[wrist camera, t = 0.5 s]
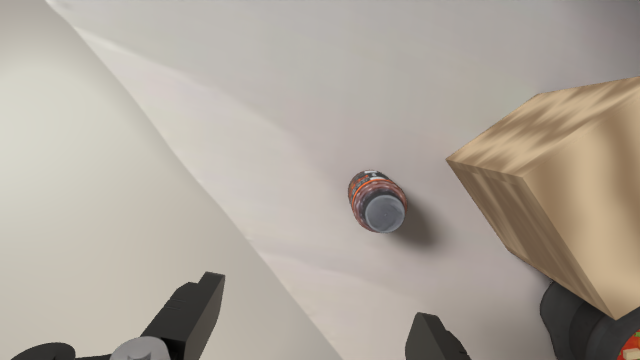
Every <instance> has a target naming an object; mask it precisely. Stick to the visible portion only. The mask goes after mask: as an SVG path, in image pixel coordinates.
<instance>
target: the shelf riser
mask: <svg viewBox="0 0 640 360" xmlns="http://www.w3.org/2000/svg"><path fill="white" fill-rule="evenodd" d="M445 160H446V161H447V163H448V164H449V165H450V167H451V168H452V170H453V171H454V173H455V174H456V176H457V177H458V179H459V180H460V181H461V183H462V184H463V186H464V187H465V189H466V190H467V192H468V193H469V195H470V196H471V197H472V199H473V200H474V202H475V203H476V205H477V206H478V208H479V209H480V210H481V212H482V213H483V215H484V216H485V218H486V219H487V221H488V222H489V224H490V225H491V226H492V228H493V229H494V231H495V232H496V234H497V235H498V237H499V238H500V240H501V241H502V242H503V244H504V245H505V247H506V248H507V250H508V251H510V252H511V253H513V254H514V255H516V256H517V257H519V258H521V259H522V260H524V261H525V262H527V263H528V264H530V265H531V266H533V267H534V268H536V269H537V270H539V271H541V272H542V273H544V274H545V275H547V276H548V277H550V278H551V279H553V280H554V281H556V282H557V283H559V284H561V285H562V286H564V287H565V288H567V289H568V290H570V291H571V292H573V293H574V294H576V295H577V296H579V297H581V298H582V299H584V300H585V301H587V302H588V303H590V304H591V305H593V306H594V307H596V308H598V309H599V310H601V311H602V312H604V313H605V314H607V315H608V316H610V317H611V318H613V319H614V320H617V319H619V318H621V317H622V316H624V315H626V314H627V313H629V312H631V311H632V310H634V309H636V308H638V307H639V306H640V76H639V77H633V78H627V79H621V80H616V81H610V82H604V83H598V84H593V85H587V86H581V87H575V88H570V89H564V90H558V91H552V92H547V93H541V94H537V95H535V96H534V97H533V98H531V99H530V100H528V101H527V102H526V103H524V104H523V105H521V106H520V107H519V108H517V109H516V110H514V111H513V112H511V113H510V114H509V115H507V116H506V117H504V118H503V119H502V120H500V121H499V122H497V123H496V124H494V125H493V126H492V127H490V128H489V129H487V130H486V131H485V132H483V133H482V134H480V135H479V136H478V137H476V138H475V139H473V140H472V141H470V142H469V143H468V144H466V145H465V146H463V147H462V148H461V149H459V150H458V151H456V152H455V153H454V154H452V155H451V156H449V157H448V158H446V159H445Z"/></svg>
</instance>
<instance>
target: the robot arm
mask: <svg viewBox="0 0 640 360" xmlns="http://www.w3.org/2000/svg"><path fill="white" fill-rule="evenodd" d="M224 283H225V275H222V274H217V273H212V272H205V274H204V275H203V277H202V278H201V280H200V281H199V283H192V282H188V283H186V284H184V285H183V286H181V287H179V288H178V289H177V290H176V291H175V292H174V294H173V295H172V296H171V297H170V300H168V301H167V303H166V304H165V305H164V307H163V308H162V309H161V310H160V312H159V313H158V314H157V315H156V316H155V318H154V319H153V320H152V322H151V323H150V324H149V325H148V327H147V328H146V329H145V331H144V332H143V333H142V334H141V336H140V337H138V338H134V339H131V340H129V341H127V342H125V343H123V344H122V345H120V346H119V347H118V348H117V349H116V350H115V351H114V352H113V353H112V354H108V355H103V356H93V357H82V358H75V350H74V348H73V347H72V346H70V345H68V344H65V343H57V342H56V343H46V344H42V345H38V346H35V347H32V348H30V349H27V350H25V351H24V352H22V353H20V354H18V355H17V356H15V357H14V358H12V359H11V360H199V358H200V356H201V354H202V352H203V350H204V348H205V346H206V344H207V341H208V339H209V337H210V335H211V332H212V331H213V329H214V327H215V324H216V322H217V319H218V315H219V312H220V307H221V301H222V295H223V289H224ZM405 356H406V360H471V358H470V357H469V355H467V352H466V350H465V349H464V347H463V346H462V344H461V342H460V341H459V340H458V339H457V338H456V337H455V336H454V335H453V334H452V333H451V332H450V331H447V330H446V329H445V327H444V326H443V324H442V322H441V321H440V319H439V318H438V316H436V315H431V314H426V313H420V312H418V313H417V314H416V315H415V318H414V321H413V324H412V327H411V330H410V333H409V336H408V339H407V342H406V346H405Z"/></svg>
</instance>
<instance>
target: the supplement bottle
mask: <svg viewBox="0 0 640 360" xmlns="http://www.w3.org/2000/svg"><path fill="white" fill-rule="evenodd" d="M348 197H349V201H350V202H349V203H350V204H351V207H352V210H353V213H354V215H355V218H356V220H357V221H358V222H359V224H360V225H361V226H362V227H364V228H365V229H367V230H369V231H372V232H376V233H389V232H393V231H395V230H396V229H398V228H399V227H400V226H401V224H402V223H403V221H404V218H405V215H406V212H407V200H406V197H405V195H404V193H403V191H402V190H401V189H400V188H399V187H398V186H397V185H396V184H395V183H394V182H392V181H391V180H390V179H389V178H388V177H386V176H385V175H384V174H382V173H380V172H378V171H374V170H366V171H363V172H360V173H359V174H357V175H356V176H355V177H354V178H353V179H352V180H351V182H350V184H349V188H348Z"/></svg>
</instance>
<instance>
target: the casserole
mask: <svg viewBox="0 0 640 360" xmlns="http://www.w3.org/2000/svg"><path fill="white" fill-rule="evenodd" d="M540 315H541V317H542V320H543V322H544V324H545V326H546V327H547V329H548V331H549V333H550V336H551V340H552V344H553V347H554V351H555V355H556V357H557V359H558V360H640V306H639V307H638V308H636V309H634V310H632V311H631V312H629V313H627V314H626V315H624V316H622V317H621V318H619V319H617V320H614V319H613V318H611V317H610V316H608V315H607V314H605V313H604V312H602V311H601V310H599V309H598V308H596V307H594V306H593V305H591V304H590V303H588V302H587V301H585V300H584V299H582V298H581V297H579V296H577V295H576V294H574V293H573V292H571V291H570V290H568V289H567V288H565V287H564V286H562V285H561V284H559V283H557V282H556V281H553V282H552V283H551V285H550V286H549V288H548V289H547V291H546V292H545V294H544V296H543V298H542V301H541V304H540Z"/></svg>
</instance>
